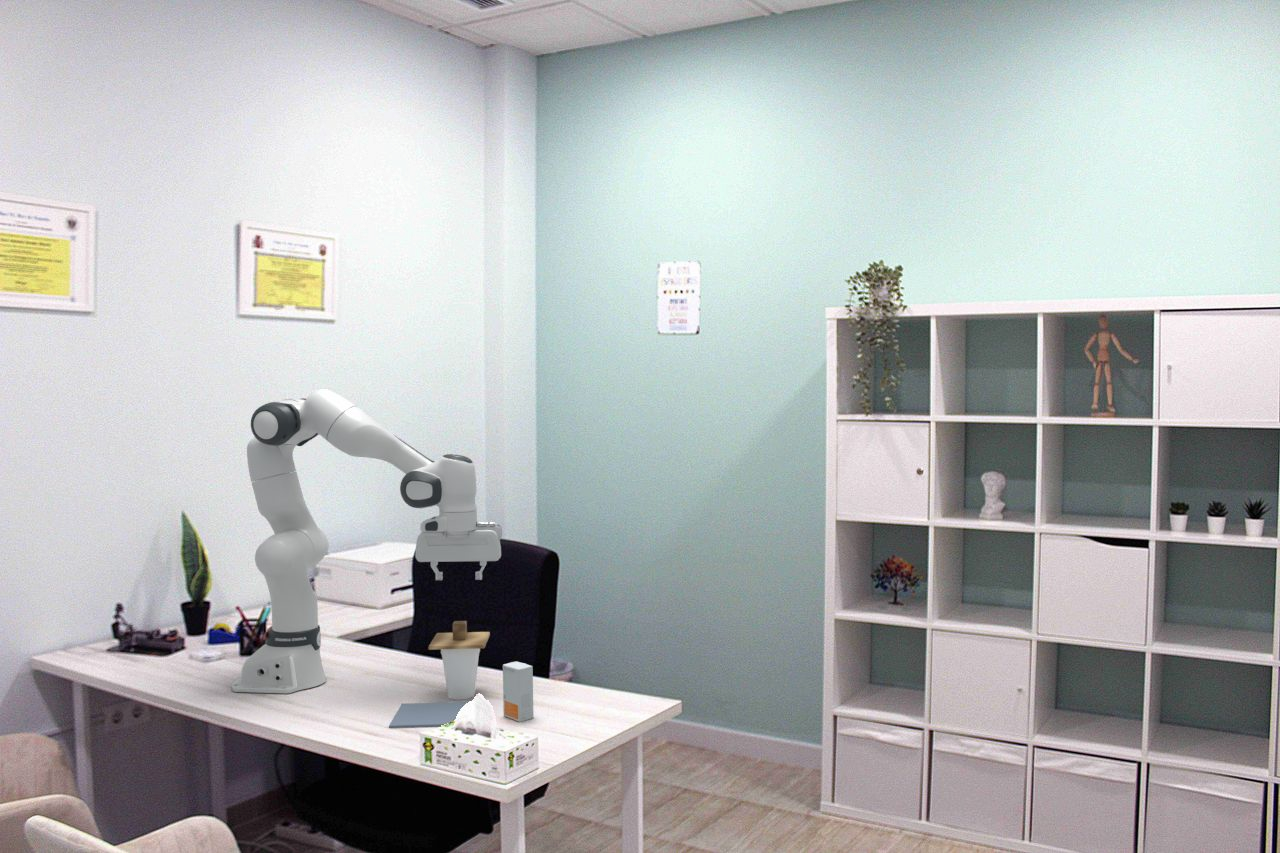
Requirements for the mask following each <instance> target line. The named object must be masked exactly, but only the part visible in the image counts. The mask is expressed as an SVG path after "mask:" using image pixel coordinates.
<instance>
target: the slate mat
mask: <svg viewBox="0 0 1280 853" xmlns="http://www.w3.org/2000/svg"><path fill="white" fill-rule="evenodd" d="M468 702H469V701H454V702H453V701H450V702H446V701H445V702H443V701H442V702H412V703H411V702H408V703H407V702H404V703H401V704H400V706H399V707H398V710H397V711H396V713H395V715H394V716H393V717H392V720H391V722H390V723H389V725H388V728H389V729H395V728H396V729H398V728H399V729H400V728H401V729H402V728H405V729H407V728H434V727H435V728H438V727H439V726H441V725H444V724H447V723H450V722H453V721H454V720H455V719H456V716H457V714H458V712H459V711H460V709H461V708H462V707H463V706H464V705H465V704H466V703H468Z"/></svg>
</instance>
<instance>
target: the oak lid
mask: <svg viewBox="0 0 1280 853" xmlns="http://www.w3.org/2000/svg"><path fill="white" fill-rule="evenodd" d="M490 636H491V632H490V631H471V632H470V631H469V632H468V621H467V620H454V621H453V623H452V632H437V633H436V634H435V635H434V637H433V639H432V640H431V642H430V644H429V645H428V650H430V651H431V650H432V651H433V650H441V649H479V648H480V649H485V648H486V646H487V643H488V640H489V638H490Z"/></svg>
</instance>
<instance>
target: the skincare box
mask: <svg viewBox="0 0 1280 853" xmlns="http://www.w3.org/2000/svg"><path fill="white" fill-rule="evenodd" d="M533 670H534V669H533V665H530V664H527V663H524V662H520V661H511V662H508V663H504V664H502V695H503V696H502V701H503V704H502V705H503V706H502V708H503V711H502V712H503V717H506V718H509V719H511V720H514V721H517V722H519V723H521V722H525V721H527V720H531V719H534V676H533V674H534V673H533Z"/></svg>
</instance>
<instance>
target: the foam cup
mask: <svg viewBox="0 0 1280 853" xmlns="http://www.w3.org/2000/svg"><path fill="white" fill-rule="evenodd" d="M480 652H481V648H479V649H440V654H441V658H442V664H443V671H444V678H445V684H446V689H447V690H446V691H447V697H448V698H450V699H453V700H467V699H470V698H473V697H474V696H475V692H476V687H477V686H476V685H477V675H478V667H479V666H478V665H479V656H480Z"/></svg>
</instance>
